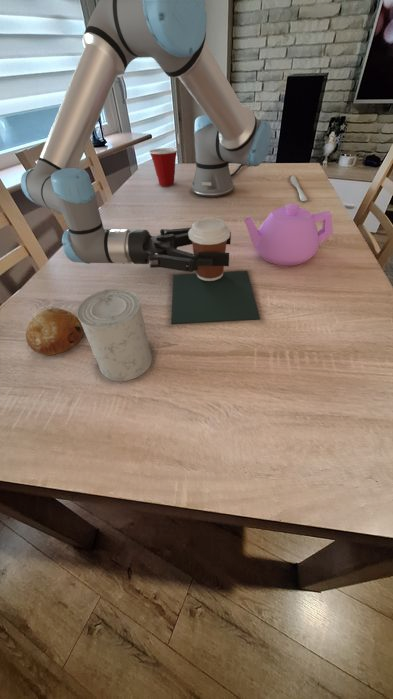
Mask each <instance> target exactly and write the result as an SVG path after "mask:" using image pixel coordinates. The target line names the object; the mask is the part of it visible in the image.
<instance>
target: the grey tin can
mask: <svg viewBox="0 0 393 699" xmlns="http://www.w3.org/2000/svg"><path fill="white" fill-rule="evenodd" d="M140 299H141V298H139V296H138V295H137V294H136V293H135V292H133V291H131V290H128V289H125V288H107V289H103V290H99V291H96V292H95V293H92V294H91V295H89V296H87V297H85V298H84V299H83V300H82V301H81V302H80V304H79V305H78V307H77V309H76V316H77V317H78V319H79V320H80V322H81V325H82V327H83V329H84V330H83V333H84V335H85V336H86V340H87V341H88V344H89V346H90V348H91V350H92V353H93V355H94V358H95V360H96V363H97V364H98V368H99V371H100V372H101V374H102V376H104V377H105V378H106V379H108V380H111V381H113V382H126V381H131V380H134V379H137V378H138V377H140V376H141V375H143V374H145V372H147V370H148V369H149V368H150V366H151V364H152V361H153V353H152V351H151V347H150V342H149V338H148V333H147V329H146V325H145V320H144V315H143V311H142V306H141V300H140Z"/></svg>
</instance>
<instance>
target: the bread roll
mask: <svg viewBox="0 0 393 699" xmlns="http://www.w3.org/2000/svg"><path fill="white" fill-rule="evenodd" d="M83 334H84V329H83V327H82V325H81V322H80V320H79V319H78V316H77V315H76V314H74V313H72V312H71V311H68V310H66V309H62V308H58V307H52V306H50V307H46V308H43V309H41V310H40V311H39V312H37V313H35V315H33V316H32V317H31V320H30V321H29V323H28V325H27V327H26V329H25V340H26V343H27V344H28V346H29V347H30V349H31V350H32V351H34V352H35V353H37V354H40V355H45V356H53V355H57V354H60V353H64V352H67V351H69V350H71V349H72V348H74V347H75V346H76V345H78V344H79V342H80V341H81V340H82V337H83Z"/></svg>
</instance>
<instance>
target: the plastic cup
mask: <svg viewBox="0 0 393 699" xmlns="http://www.w3.org/2000/svg"><path fill="white" fill-rule="evenodd" d="M148 153H149V155H150V157H151V160H152V162H153V166H154V167H153V168H154V170H155V174H156V177H157V180H158V184H159V186H161V187H171V186H173V185H174V184H175V183H174V182H175V175H176V160H177V153H178V148H176V147H160V148H152V149H149V150H148Z"/></svg>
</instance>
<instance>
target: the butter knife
mask: <svg viewBox="0 0 393 699" xmlns="http://www.w3.org/2000/svg"><path fill="white" fill-rule="evenodd" d="M289 182H290V183H291V184H292V185H293V186H294V188H296V189H297V192H298V197H299V200H300V201H301V202H307V201H308V197H307V195H306V194H305V192H304V191H303V190H302V188H301V186H300V184H299V182H298V179H297V178H296V175H291V177H290V180H289Z"/></svg>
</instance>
